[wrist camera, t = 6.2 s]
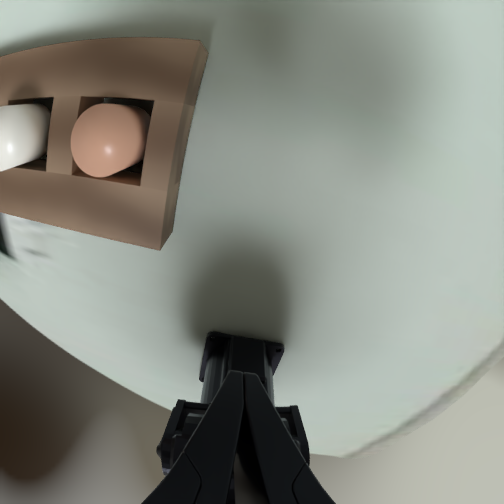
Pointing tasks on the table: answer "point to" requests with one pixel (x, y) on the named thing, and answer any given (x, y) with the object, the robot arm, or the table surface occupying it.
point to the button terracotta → (109, 138)
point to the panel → (85, 96)
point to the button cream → (23, 134)
